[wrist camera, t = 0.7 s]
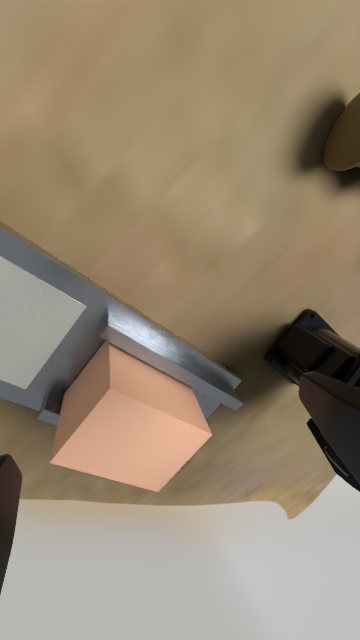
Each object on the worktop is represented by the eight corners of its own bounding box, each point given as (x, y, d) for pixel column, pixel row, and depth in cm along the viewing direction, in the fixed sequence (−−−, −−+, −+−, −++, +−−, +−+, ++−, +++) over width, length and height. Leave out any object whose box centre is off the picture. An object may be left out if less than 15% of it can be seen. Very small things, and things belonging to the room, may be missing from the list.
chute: (237, 374, 26) (252, 394, 23) (167, 449, 27) (174, 476, 25) (-73, 174, 14) (-115, 169, 11) (-155, 329, 16) (-207, 354, 13)
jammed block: (187, 379, 23) (212, 434, 17) (146, 427, 24) (157, 492, 18) (109, 336, 19) (110, 388, 14) (64, 393, 20) (49, 462, 15)
